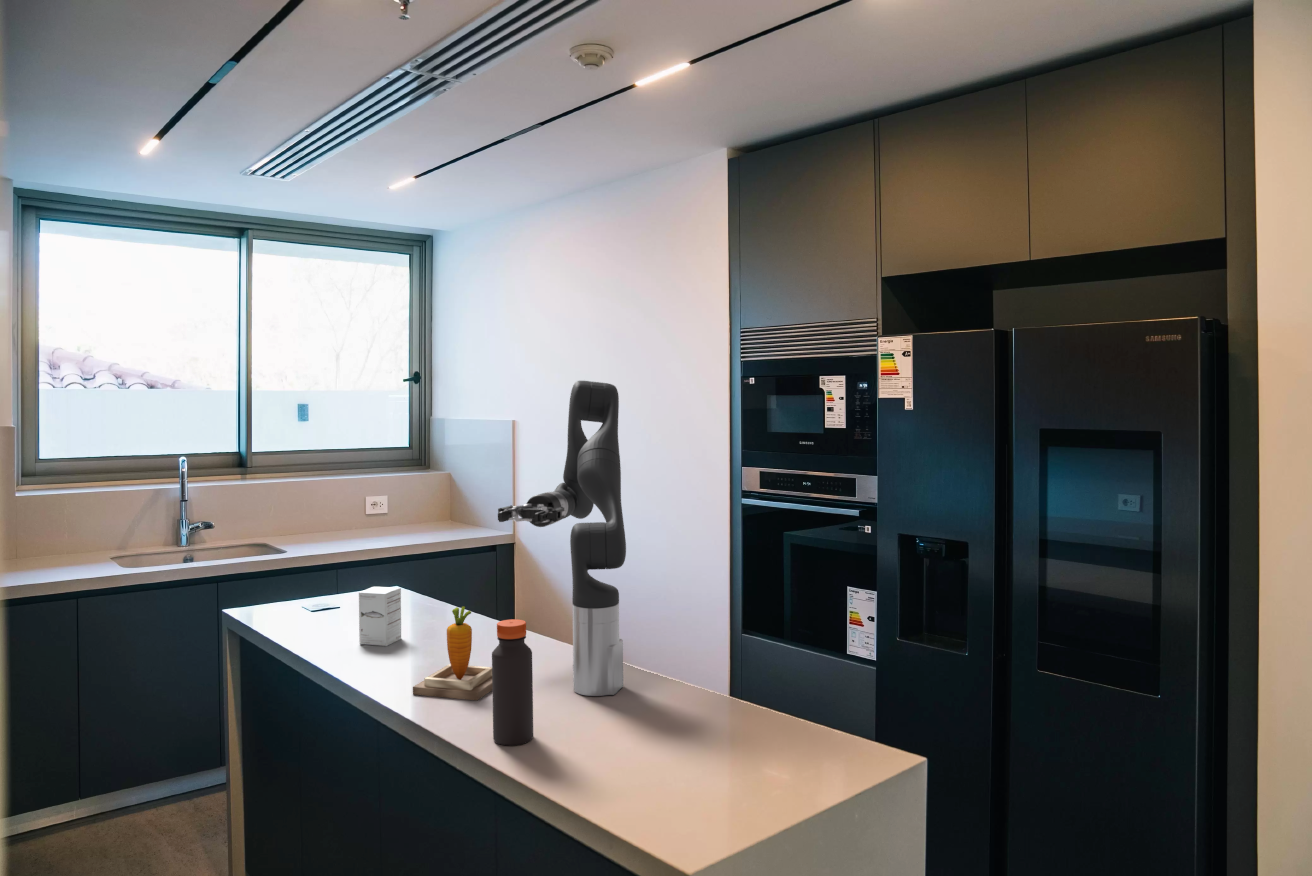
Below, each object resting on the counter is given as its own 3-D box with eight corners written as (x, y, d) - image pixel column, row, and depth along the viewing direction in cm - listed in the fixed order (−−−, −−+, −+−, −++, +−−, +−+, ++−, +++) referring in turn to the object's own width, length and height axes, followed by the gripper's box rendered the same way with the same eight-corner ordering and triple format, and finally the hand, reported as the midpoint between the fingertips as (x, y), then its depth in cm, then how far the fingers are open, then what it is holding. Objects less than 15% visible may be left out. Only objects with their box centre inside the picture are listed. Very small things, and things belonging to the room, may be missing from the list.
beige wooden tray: (504, 681, 184) (504, 666, 184) (477, 700, 172) (477, 684, 172) (443, 675, 188) (443, 661, 188) (412, 694, 176) (412, 679, 176)
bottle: (528, 729, 157) (526, 616, 156) (537, 742, 151) (535, 625, 150) (489, 734, 155) (487, 620, 154) (497, 749, 148) (495, 629, 148)
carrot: (461, 674, 184) (460, 601, 183) (477, 679, 181) (476, 605, 180) (441, 680, 180) (441, 606, 179) (457, 685, 177) (457, 610, 176)
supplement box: (358, 645, 212) (357, 592, 211) (375, 636, 219) (374, 585, 219) (386, 646, 210) (385, 593, 210) (402, 638, 217) (401, 586, 217)
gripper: (519, 492, 212) (487, 499, 196) (575, 493, 208) (548, 501, 192) (519, 523, 212) (488, 533, 197) (576, 525, 208) (548, 536, 193)
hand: (518, 517), depth 195 cm, fingers open, 8 cm apart
